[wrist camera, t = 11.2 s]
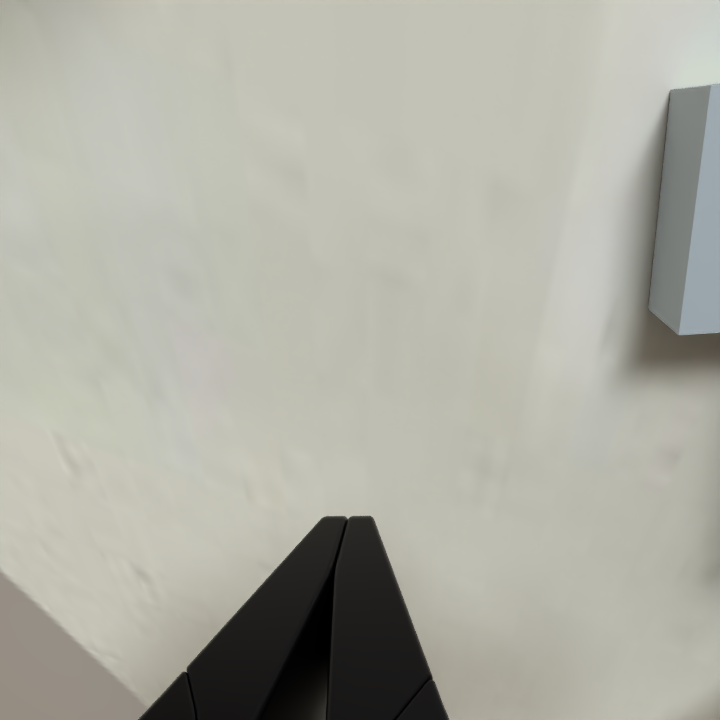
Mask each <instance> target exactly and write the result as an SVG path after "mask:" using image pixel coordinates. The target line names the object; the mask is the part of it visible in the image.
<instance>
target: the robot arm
mask: <svg viewBox="0 0 720 720" xmlns="http://www.w3.org/2000/svg"><path fill="white" fill-rule="evenodd" d="M138 720H449V718H448V715H447V713H446V710H445V708H444V706H443V703H442V700H441V698H440V695H439V692H438V690H437V687H436V684H435V682H434V681H433V678H432V674H431V671H430V669H429V666H428V663H427V661H426V658H425V655H424V653H423V650H422V647H421V645H420V642H419V639H418V637H417V634H416V631H415V628H414V626H413V623H412V620H411V618H410V615H409V612H408V610H407V607H406V604H405V602H404V599H403V596H402V594H401V591H400V588H399V585H398V583H397V580H396V577H395V575H394V572H393V569H392V567H391V564H390V561H389V559H388V556H387V553H386V550H385V548H384V545H383V542H382V540H381V537H380V534H379V532H378V529H377V526H376V524H375V521H374V519H373V517H371V516H351V517H350V518H349V519H347V517H345V516H326V517H323V518H322V519H321V520H320V521H319V522H318V523H317V524H316V525H315V526H314V527H313V529H312V530H311V531H310V532H309V533H308V534H307V535H306V536H305V537H304V539H303V540H302V541H301V542H300V543H299V544H298V545H297V546H296V547H295V548H294V550H293V551H292V552H291V553H290V554H289V555H288V556H287V557H286V558H285V560H284V561H283V562H282V563H281V564H280V565H279V566H278V567H277V568H276V569H275V571H274V572H273V573H272V574H271V575H270V576H269V577H268V578H267V579H266V580H265V582H264V583H263V584H262V585H261V586H260V587H259V588H258V589H257V590H256V592H255V593H254V594H253V595H252V596H251V597H250V598H249V599H248V600H247V601H246V603H245V604H244V605H243V606H242V607H241V608H240V609H239V610H238V611H237V613H236V614H235V615H234V616H233V617H232V618H231V619H230V620H229V621H228V622H227V624H226V625H225V626H224V627H223V628H222V629H221V630H220V631H219V632H218V634H217V635H216V636H215V637H214V638H213V639H212V640H211V641H210V642H209V643H208V645H207V646H206V647H205V648H204V649H203V650H202V651H201V652H200V653H199V655H198V656H197V657H196V658H195V659H194V660H193V661H192V662H191V663H190V664H189V666H188V667H187V672H182V673H181V674H180V675H179V676H178V677H177V679H176V680H175V681H174V682H173V683H172V684H171V685H170V686H169V687H168V688H167V690H166V691H165V692H164V693H163V694H162V695H161V696H160V697H159V698H158V699H157V700H156V701H155V702H154V703H153V704H152V706H151V707H150V708H149V709H148V710H147V711H146V712H145V713H144V714H143V715H142V716H141V717H140V718H139V719H138Z"/></svg>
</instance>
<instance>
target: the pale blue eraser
mask: <svg viewBox="0 0 720 720" xmlns="http://www.w3.org/2000/svg"><path fill="white" fill-rule="evenodd" d="M648 310H649V311H651V312H652V313H653V314H654V315H655V316H657V317H658V318H659V319H660V320H661V321H662V322H664V323H665V324H666V325H667V326H668V327H669V328H671V329H672V330H673V331H674V332H675V333H676V334H678V335H692V334H707V333H720V84H714V85H706V86H698V87H690V88H682V89H674V90H671V93H670V103H669V112H668V122H667V132H666V141H665V151H664V161H663V171H662V180H661V190H660V200H659V209H658V219H657V229H656V239H655V248H654V258H653V268H652V277H651V287H650V297H649V307H648Z"/></svg>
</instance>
